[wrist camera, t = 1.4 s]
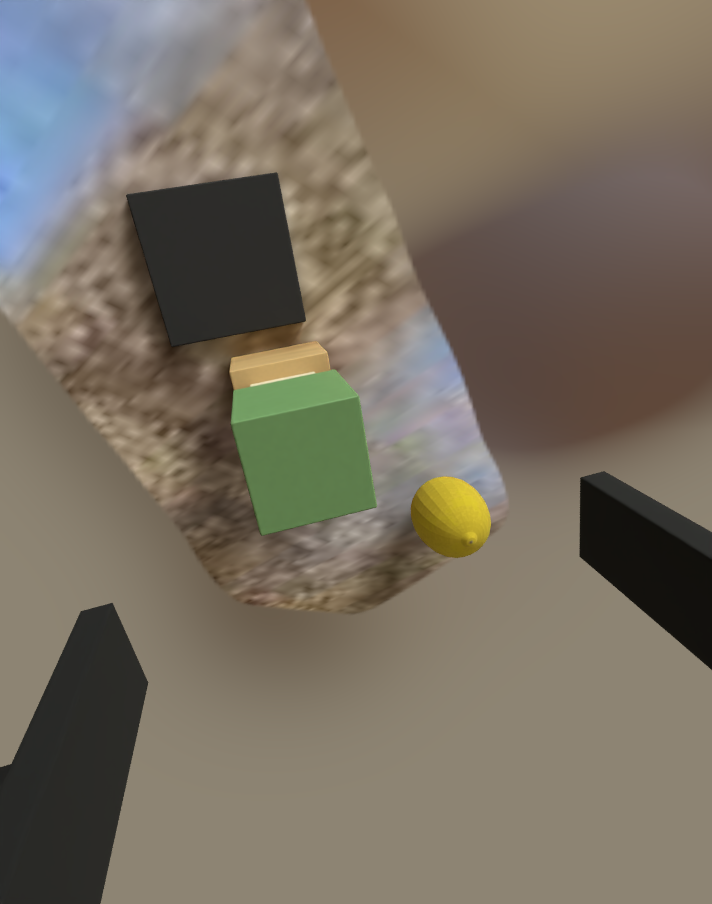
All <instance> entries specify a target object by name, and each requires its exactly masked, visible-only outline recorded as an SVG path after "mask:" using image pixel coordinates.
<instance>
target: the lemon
mask: <svg viewBox="0 0 712 904" xmlns="http://www.w3.org/2000/svg"><path fill="white" fill-rule="evenodd" d="M411 519H412V522H413V525H414V528H415V531H416V532H417V534H418V535H419V537H420V538H421V540H422V541H423V542H424V543H425V544H426V545H427V546H429V547H430V548H431V549H432V550H434V551H435V552H437V553H439V554H441V555H444V556H447V557H453V558H459V557H465V556H468V555H471V554H472V553H474V552H476V551H477V550H479V549H480V548H481V547H482V546H483V544H484V543H485V542H486V540H487V538H488V536H489V533H490V527H491V521H490V514H489V511H488V508H487V506H486V503H485V501H484V500H483V498H482V497H481V496H480V494H479V493H478V492H477V491H476V490H475V489H474V488H473V487H472V486H470V485H469V484H467V483H466V482H465V481H463V480H460V479H457V478H454V477H438V478H434V479H432V480H429V481H427V482H426V483H425V484H423V485H422V486H421V487H420V488H419V489H418V491H417V492H416V494H415V496H414V498H413V500H412V504H411Z"/></svg>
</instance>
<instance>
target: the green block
mask: <svg viewBox="0 0 712 904" xmlns="http://www.w3.org/2000/svg"><path fill="white" fill-rule="evenodd" d="M231 428H232V431H233V435H234V439H235V442H236V446H237V450H238V454H239V457H240V461H241V465H242V468H243V472H244V476H245V479H246V483H247V487H248V491H249V494H250V498H251V502H252V505H253V509H254V513H255V516H256V520H257V524H258V527H259V531H260V534H261V536H263V535H267V534H271V533H275V532H279V531H283V530H287V529H291V528H295V527H299V526H303V525H307V524H312V523H316V522H320V521H324V520H328V519H332V518H336V517H340V516H344V515H348V514H352V513H356V512H360V511H364V510H368V509H372V508H376V507H377V503H376V497H375V491H374V485H373V479H372V473H371V466H370V460H369V454H368V448H367V442H366V436H365V429H364V423H363V417H362V411H361V405H360V399H359V396H358V395H357V393H356V392H355V391H354V390H353V389H352V388H351V387H350V386H349V385H348V383H347V382H346V381H345V380H344V379H343V378H342V377H341V376H340V375H339V373H338V372H337V371H336V370H330V371H325V372H320V373H315V374H310V375H305V376H301V377H296V378H291V379H286V380H281V381H276V382H271V383H267V384H262V385H257V386H252V387H247V388H242V389H237V390H234V391H233V402H232V414H231Z"/></svg>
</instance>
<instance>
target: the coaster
mask: <svg viewBox="0 0 712 904" xmlns="http://www.w3.org/2000/svg"><path fill="white" fill-rule="evenodd" d="M126 197H127V200H128V203H129V207H130V210H131V213H132V217H133V220H134V223H135V227H136V230H137V233H138V237H139V240H140V243H141V247H142V250H143V253H144V257H145V260H146V263H147V267H148V270H149V273H150V277H151V280H152V283H153V287H154V290H155V293H156V297H157V300H158V303H159V307H160V310H161V313H162V317H163V320H164V323H165V327H166V330H167V333H168V337H169V340H170V343H171V346H172V347H174V346H179V345H185V344H190V343H195V342H200V341H206V340H211V339H216V338H221V337H227V336H232V335H237V334H242V333H248V332H253V331H258V330H263V329H269V328H274V327H279V326H284V325H290V324H295V323H300V322H305V321H306V318H305V313H304V308H303V303H302V297H301V292H300V287H299V282H298V277H297V272H296V266H295V261H294V256H293V251H292V246H291V240H290V235H289V230H288V225H287V220H286V215H285V209H284V204H283V199H282V194H281V189H280V184H279V178H278V174H277V173H269V174H263V175H256V176H249V177H242V178H235V179H229V180H222V181H215V182H208V183H201V184H195V185H188V186H181V187H174V188H168V189H161V190H154V191H147V192H140V193H134V194H127V195H126Z"/></svg>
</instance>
